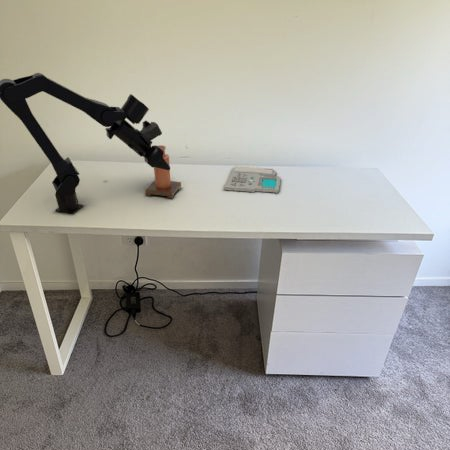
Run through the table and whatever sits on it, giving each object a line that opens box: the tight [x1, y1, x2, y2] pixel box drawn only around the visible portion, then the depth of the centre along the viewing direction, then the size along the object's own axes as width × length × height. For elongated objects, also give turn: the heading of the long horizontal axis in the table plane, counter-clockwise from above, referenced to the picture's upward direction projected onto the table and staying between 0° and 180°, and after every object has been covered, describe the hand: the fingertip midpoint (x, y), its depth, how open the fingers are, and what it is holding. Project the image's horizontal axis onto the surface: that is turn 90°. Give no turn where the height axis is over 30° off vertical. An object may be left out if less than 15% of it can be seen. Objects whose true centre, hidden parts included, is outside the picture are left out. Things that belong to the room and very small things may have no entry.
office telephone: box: [224, 165, 281, 194], centre depth 149 cm, size 23×3×20 cm
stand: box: [144, 179, 182, 200], centre depth 139 cm, size 10×10×2 cm
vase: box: [153, 144, 172, 189], centre depth 134 cm, size 6×6×14 cm
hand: (164, 164), depth 134 cm, fingers open, 9 cm apart
